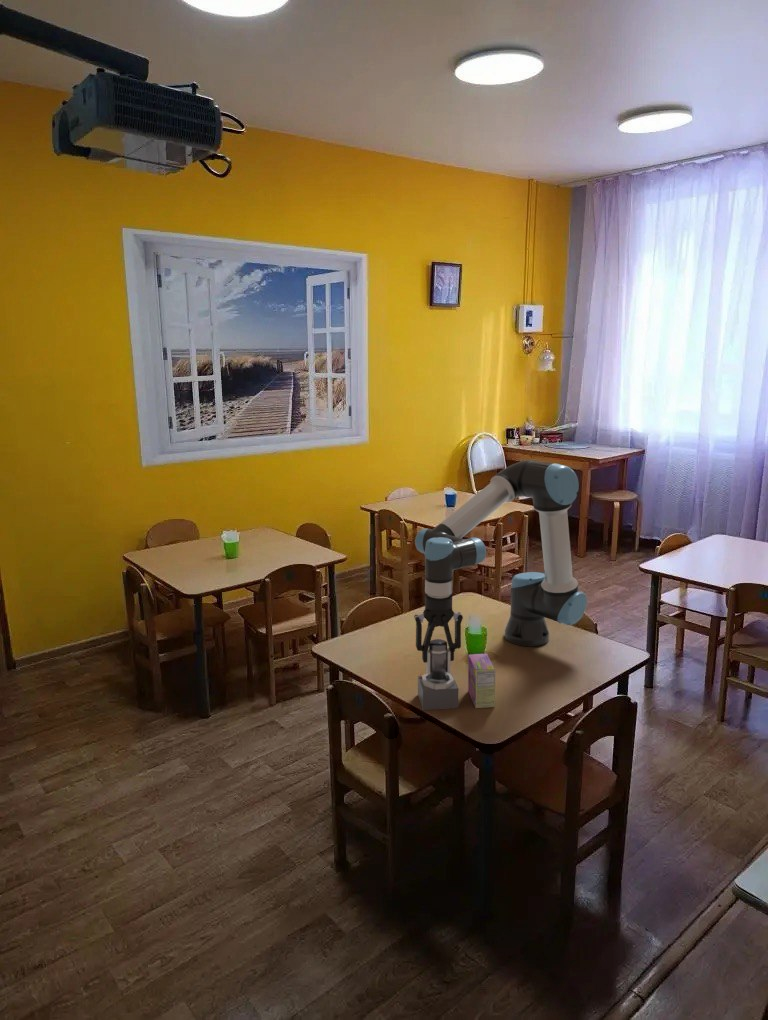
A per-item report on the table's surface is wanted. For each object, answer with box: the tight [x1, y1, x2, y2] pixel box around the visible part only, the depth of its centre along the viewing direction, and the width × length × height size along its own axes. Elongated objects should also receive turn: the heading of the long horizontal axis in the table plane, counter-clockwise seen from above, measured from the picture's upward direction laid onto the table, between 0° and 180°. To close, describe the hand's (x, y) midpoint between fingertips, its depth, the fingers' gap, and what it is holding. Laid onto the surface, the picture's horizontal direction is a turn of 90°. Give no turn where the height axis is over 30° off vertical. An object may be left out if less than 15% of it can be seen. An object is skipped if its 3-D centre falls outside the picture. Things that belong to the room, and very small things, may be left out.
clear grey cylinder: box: [428, 638, 448, 680], centre depth 194 cm, size 5×5×10 cm
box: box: [467, 653, 497, 709], centre depth 196 cm, size 10×6×12 cm, turn 5°
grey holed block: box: [417, 672, 459, 711], centre depth 196 cm, size 10×9×7 cm
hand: (438, 671), depth 195 cm, fingers closed on clear grey cylinder, 5 cm apart
